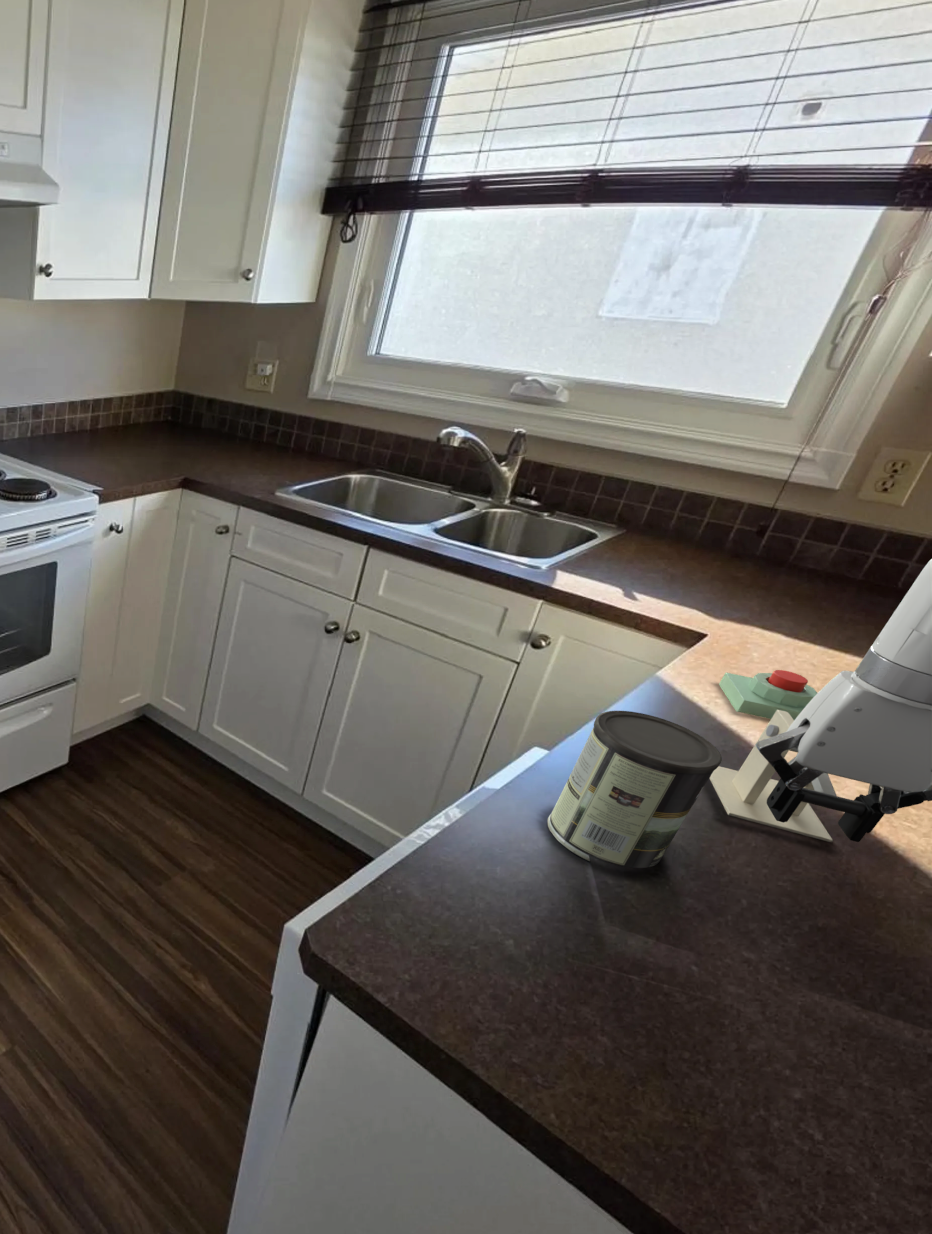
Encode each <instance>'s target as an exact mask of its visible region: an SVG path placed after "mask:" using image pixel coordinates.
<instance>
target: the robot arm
mask: <svg viewBox="0 0 932 1234" xmlns="http://www.w3.org/2000/svg"><path fill="white" fill-rule="evenodd" d="M755 744H756V747H757V749H758V750H759V752H760V753H761V754H762V755H763V756H764V758H765V759H766V760H767V761H768V762H769V763H770V764H771V765H772V766H773V767H774V769H775V770H776V771H775V773H777V775H778V777H779V778H780V779H779V780H778V781H779V782H778V783H777V785H776V786H775V788H774V789H773V791H772V792H771V794H770V795H769V797H768V798H767V805H768V807H769V809H770V811H771V812H772V814H773V816H774V817H775V819H776V820H777V821H780V822H783V823H784V822H787V821H788V820H789V818H790V817H791V816H792V814H793V813H794V811H795V810H796V808H797V807H798V806H799V804H800V803H801V801H802V800H803V798H804V797H805V794H804V793H803V791H802V788H803V787H805V786H806V785H808V784H809V783H810V782H812V781H813V780H814V779H816V778H817V777H819V776H820V775H821V774H823V773H827V774H828V775H832V776H836V777H840V778H844V779H847V780H853V781H857V782H861V783H864V784H869V786H868V791H867V794H866V795H864V794H859V795H858V796H855V798H854V799H853V800H854V801H858V802H862V803H864V804H865V807H866V808H865V812H864V813H863V814H862V815H861V816H857V815H853V814H849V813H845V812H843V815H842V816H841V817H840V818H839V819H838V821H837V822H838V823H837V825H838V826H839V827H840V829H841V830H842V831H843V833H844V835H845V836H846V838H847V839H849V841H852V842H855V843H859V842H861V840H862V839H863V838H864V837H865V835H866V834H870V833H872V832H873V830H874V829H875V828H876V826H877V825H878V823H880V821H881V820H882V818H883V817H884V816H885V815H892V814H895V813H896V812H898V809H899V810H900V809H903V808H907V807H908V808H909V807H913V806H917V805H921V804H922V803H924V802H926V801H927V802H931V801H932V558H931V559H930V560H929V561H928V562H927V563H926V564H925V566H924V567H923V568H922V570H921V571H920V573H919V574H918V575H917V577H916V578H915V580H914V582H913V583H912V585H911V586H910V588H909V590H907V592H906V593H905V595H904V596H903V598H902V600H901V602H899V604H898V606H897V607H896V608H895V610H894V611H893V613H892V615H891V616H890V618H889V619H888V621H887V622H886V623H885V625H884V627H883V628H882V630H881V631H880V632H879V634H878V635H877V637H876V638H875V640H874V641H873V644H871V646H870V647H869V649H868V650H867V652H866V653H865V655H864V656H863V658H862V659H861V660H860V662H859V664H858V665H857V667H856V668H855V670H854V671H851V670H841V671H840V672H839V673H837V675H835V676H834V677H833V678H832V679H830V680H829V681H828V682H827V683H826V684H825V685H824V686H823V687H822V688H821V689H820V690H819V691H817V694H816V695H815V696H814V697H813V699H812V700H811V701H810V702H809V703H808V704H807V705H806V707H805V708H804V709H803V710H802V711H801V713H800V714H799V715H798V716H797V718H796V719H795V720H794V722H793V723H792V724H791V726H790V727H789V728H788V730H787V731H786V732H784V733H781V734H778V735H776V736H773V737H770V738H767V739H765V740H762V741H759V742H757V741H756V742H755ZM791 748H792V749H794V750H797V751H798V753H797V752H796V753H797V754H796V755H795V756H794V757H793V758H792V759H791V760H789V761H787V759H786V758H785V757H783V756H782V755H781V753H782V752H783V751H786V750H789V749H791Z"/></svg>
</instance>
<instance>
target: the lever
mask: <svg viewBox="0 0 932 1234" xmlns="http://www.w3.org/2000/svg"><path fill="white" fill-rule="evenodd" d="M788 752H794V753H798V751H797V750H794V749H792V748H791V749H790V750H789V751H788ZM812 785H813V787H814V790H815V791H814V790H810V789H806V788H802V791H803V793H804V794H805V797H804V798H803V800H802V802H805V803H809V805H813V806H818V807H821V808H826V809H829V810H833V811H838V812H842V813H849V814H853V815H857V816H861V815H862V814H863V813H864V812H865V808H866V807H865V804H864V803H862V802H858V801H854V800H855V799H850V798H846V797H843V796H842V797H841V796H838V795H837V793H836V790H835V788H834V785H833V783H832V781H831V777H830V774H827V773H823V774H821V775H820V776H819V777H817V778H816V779H814V780H813V781H812Z"/></svg>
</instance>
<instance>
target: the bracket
mask: <svg viewBox="0 0 932 1234" xmlns="http://www.w3.org/2000/svg"><path fill="white" fill-rule="evenodd" d="M793 722H794V720H793V718H792V717H791V716H790V714H789V713H788V712H786V711H781V710H777V711H776V712H775V714H774V715H773V717H772V719H769V722H768V724H767V725H766V726H765V728H764V730H763V731H762V733H761V735H760V736H759V738H758V739H757V741H756V743H757V742H759V741H762V740H765V739H767V738H770V737H773V736H776V735H778V734H781V733H784V732H786V731H787V730H788V728H789V727H790V726H791V724H792V723H793ZM756 743H755V744H754V745H753V747H752V749H751V751H750V752H749V754H748V755H747V757H746V759H745V760H744V761H743V763H742V765H741V767H740V768H739V769H738V770H735V769H732V768H728V767H723V766H720V765H719V766H718V767H717V769H715V770H714V771H713V773H712V775H711V776H710V778H709V780H710V783H711V784H712V786H713V788H714V790H715V792H716V794H717V797H718V798H719V800H720V802H721V804H722V805H723V808H724V810H725V812H726V814H727V815H728V816H731V817H735V818H738V819H741V820H746V821H749V822H753V823H757V824H759V825H760V824H761V825H764V826H768V827H771V828H776V829H779V830H783V831H787V832H791V833H795V834H798V835H802V836H806V837H809V838H813V839H818V840H820V841H824V842H828V843H832V842H833V840H834V839H833V837H831V835H830V834H829V832H828V831H827V829H826V827H825V825H824V824H823V823H822V821H821V819H820V818H819V816H818V815H817V814H816V812H815V811H814V809H813V808H812V806H811V804H809V803H805V802H802V801H801V803H800V804H799V806H798V807H797V808H796V810H795V811H794V813H793V814H792V816H791V817H790V818H789V820H788V821H787V822H784V823H783V822H780V821H777V820H776V819H775V817H774V816H773V814H772V812H771V811H770V809H769V807H768V805H767V798H768V797H769V795H770V794H771V792H772V791H773V789H774V788H775V786H776V785H777V783H778V782H779V780H778V779H777V780H776V779H772V777H773V776H774V775H775V773H776V770H775V769H774V767H773V766H772V765H771V764H770V763H769V762H768V761H767V760H766V759H765V758H764V756H763V755H762V754H761V753H760V752H759V750H758V749H757V747H756ZM789 750H790V749H789ZM789 750H786V751H783V752H782V753H781V755H782V756H783V757H784V758H785V757H786V756H787V755H788V753H789V752H790V751H789ZM803 788H806V789H810V790H814V787H813V785H812V782H810V783H809V784H808V785H806V786H805V787H803ZM814 791H815V790H814Z"/></svg>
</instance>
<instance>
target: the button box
mask: <svg viewBox="0 0 932 1234" xmlns="http://www.w3.org/2000/svg"><path fill="white" fill-rule="evenodd" d="M772 673H773V672H757V673H756V674H755V675H754V676H753V677H750V676H745V675H741V674H736V673H730V672H725V673H724V674H723V676H722V678H721V680H720V681H719V683H718V685H719V687H720V689H721V690H722V692H723V693H724V695H725V696H726V697H727V700H728V702H729V703H730V704H731V706H732V707H733V709H734V710H735V712H736V713H741V714H747V715H750V716H755V717H760V718H764V719H768V720H771V719H772V717H773V715H774V714H775V712H776V711H777V710H781V711H786V712H788V713H789V714H790V716H791V717H792V718H793V720H795V719H796V718H797V716H798V715H799V714H800V713H801V711H802V710H803V709H804V708H805V707H806V705H807V704H808V703H809V702H810V701H811V700H812V699H813V697H814V696H815V695H816V694H817V693H818V691H817V690H816V689H815V688H814V687H812V686H811V685H808V683H807V684H806V686H805V687H804V689H803V691H802V692H792V691H787V690H784V689H781V688H778V687H775V686H773V685H772V684H770V683H768V680H769V678H770V677H771V675H772Z"/></svg>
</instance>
